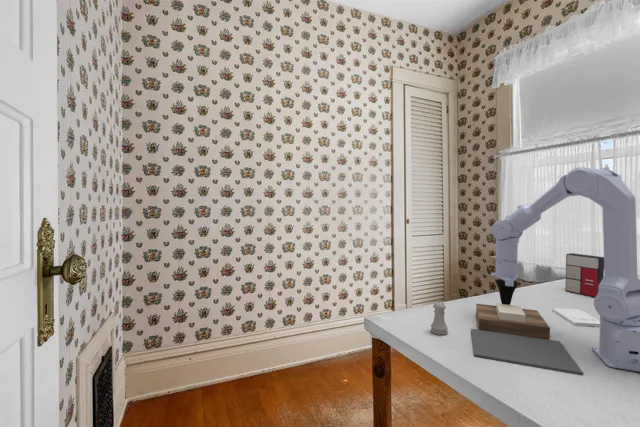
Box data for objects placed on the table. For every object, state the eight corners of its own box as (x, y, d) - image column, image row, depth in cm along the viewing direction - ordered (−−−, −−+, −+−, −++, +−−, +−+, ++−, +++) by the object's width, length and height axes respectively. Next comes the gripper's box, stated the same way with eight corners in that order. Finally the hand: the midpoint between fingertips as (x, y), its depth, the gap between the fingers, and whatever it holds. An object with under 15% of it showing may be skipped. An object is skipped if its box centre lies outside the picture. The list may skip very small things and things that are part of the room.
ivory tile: (525, 322, 83) (525, 315, 83) (499, 319, 85) (499, 312, 85) (519, 312, 90) (520, 306, 90) (496, 310, 93) (496, 303, 93)
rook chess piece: (437, 336, 83) (437, 306, 83) (427, 329, 87) (427, 301, 87) (451, 334, 84) (451, 304, 84) (440, 328, 88) (441, 300, 88)
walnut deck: (549, 341, 80) (549, 327, 80) (479, 331, 86) (479, 318, 86) (536, 322, 93) (537, 310, 93) (476, 314, 99) (476, 303, 99)
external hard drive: (580, 314, 101) (607, 329, 88) (551, 312, 102) (574, 327, 90) (580, 309, 101) (608, 324, 88) (551, 307, 102) (574, 321, 90)
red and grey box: (564, 291, 125) (564, 253, 125) (570, 290, 127) (571, 253, 126) (597, 298, 115) (598, 258, 115) (604, 297, 117) (605, 257, 116)
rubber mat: (583, 375, 64) (583, 372, 64) (473, 356, 72) (473, 354, 72) (559, 343, 79) (559, 341, 79) (471, 330, 87) (471, 328, 87)
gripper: (489, 255, 104) (488, 296, 104) (493, 263, 91) (493, 309, 91) (514, 256, 101) (513, 298, 101) (522, 264, 88) (521, 313, 88)
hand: (505, 304), depth 96 cm, fingers closed
